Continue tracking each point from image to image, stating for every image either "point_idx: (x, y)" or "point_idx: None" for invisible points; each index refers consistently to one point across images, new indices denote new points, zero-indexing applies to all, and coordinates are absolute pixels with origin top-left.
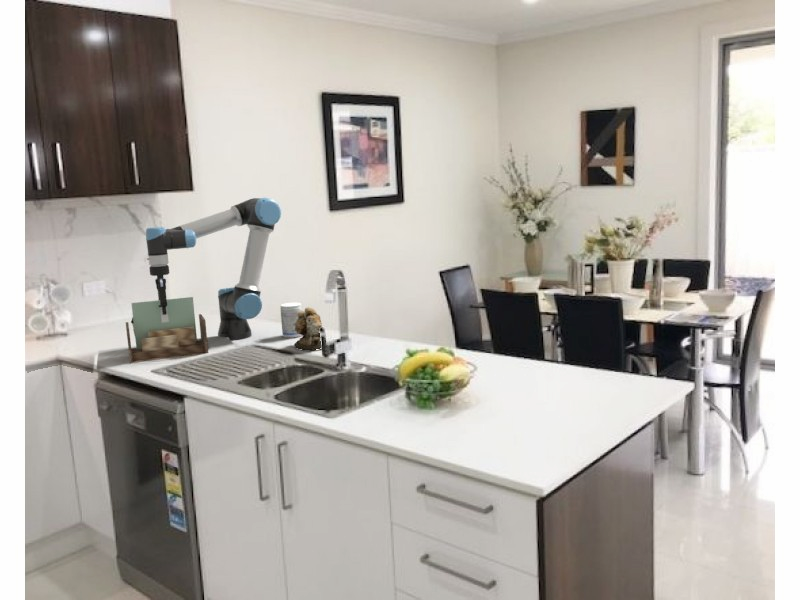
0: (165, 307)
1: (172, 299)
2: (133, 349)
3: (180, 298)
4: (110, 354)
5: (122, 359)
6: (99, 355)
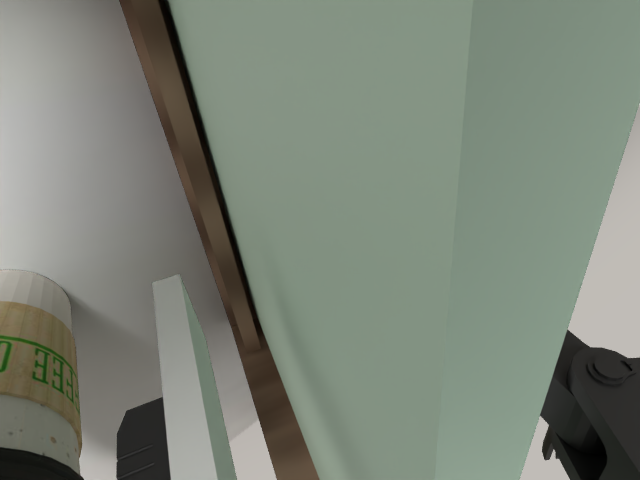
0: (584, 347)
1: (525, 444)
2: (257, 336)
3: (582, 196)
4: (83, 446)
5: (223, 351)
6: (96, 476)
